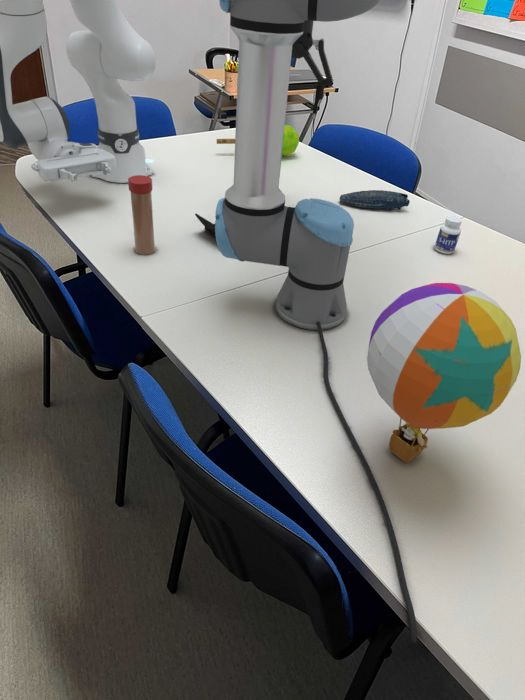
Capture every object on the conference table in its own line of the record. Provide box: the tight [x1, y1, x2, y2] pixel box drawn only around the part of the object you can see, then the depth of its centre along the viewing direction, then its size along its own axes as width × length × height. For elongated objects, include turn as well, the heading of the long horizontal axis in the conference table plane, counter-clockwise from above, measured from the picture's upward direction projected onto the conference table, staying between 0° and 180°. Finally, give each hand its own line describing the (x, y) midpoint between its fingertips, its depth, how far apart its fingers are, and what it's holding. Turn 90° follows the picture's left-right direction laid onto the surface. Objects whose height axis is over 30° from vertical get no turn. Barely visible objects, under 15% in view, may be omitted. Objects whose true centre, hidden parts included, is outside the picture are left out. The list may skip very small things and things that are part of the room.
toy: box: [366, 282, 522, 464], centre depth 73 cm, size 20×20×30 cm
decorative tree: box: [216, 124, 300, 157], centre depth 186 cm, size 18×10×30 cm
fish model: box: [339, 189, 411, 211], centre depth 158 cm, size 7×21×5 cm, turn 84°
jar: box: [129, 191, 156, 256], centre depth 123 cm, size 5×5×17 cm
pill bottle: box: [434, 215, 463, 255], centre depth 137 cm, size 5×5×9 cm
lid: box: [128, 175, 153, 194], centre depth 118 cm, size 5×5×2 cm
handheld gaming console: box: [194, 213, 216, 237], centre depth 135 cm, size 12×7×10 cm
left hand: (92, 174), depth 132 cm, fingers open, 8 cm apart
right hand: (288, 109), depth 135 cm, fingers open, 13 cm apart
